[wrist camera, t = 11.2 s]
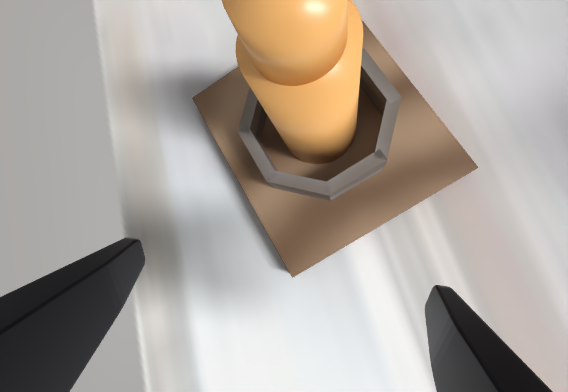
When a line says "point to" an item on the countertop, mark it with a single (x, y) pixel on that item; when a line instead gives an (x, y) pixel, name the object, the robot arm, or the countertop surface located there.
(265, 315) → the countertop surface
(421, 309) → the countertop surface
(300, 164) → the peg board base
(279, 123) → the wooden peg doll
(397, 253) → the countertop surface
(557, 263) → the countertop surface
